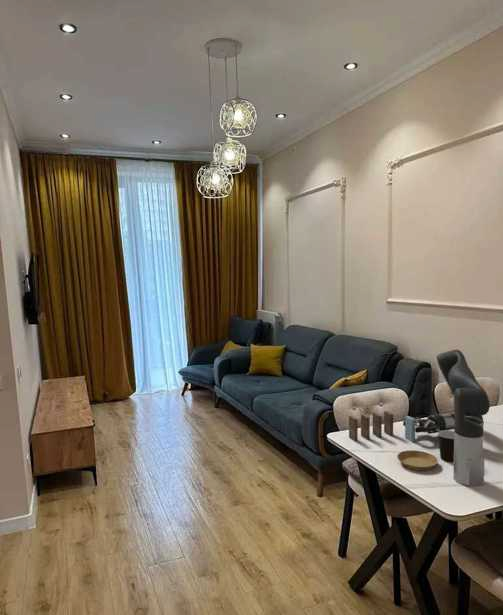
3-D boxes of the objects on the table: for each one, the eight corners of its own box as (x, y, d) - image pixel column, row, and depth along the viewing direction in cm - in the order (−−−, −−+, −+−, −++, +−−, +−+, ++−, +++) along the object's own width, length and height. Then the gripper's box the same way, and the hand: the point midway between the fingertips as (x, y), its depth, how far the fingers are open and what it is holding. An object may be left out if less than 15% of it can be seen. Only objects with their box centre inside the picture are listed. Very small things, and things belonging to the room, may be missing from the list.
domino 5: (408, 437, 200) (408, 415, 199) (414, 441, 195) (415, 419, 194) (405, 438, 200) (405, 416, 199) (411, 442, 195) (412, 419, 194)
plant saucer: (413, 476, 165) (413, 469, 165) (389, 459, 179) (389, 453, 179) (446, 469, 169) (446, 463, 169) (420, 454, 183) (420, 448, 183)
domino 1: (352, 436, 203) (352, 415, 202) (357, 440, 198) (357, 418, 197) (349, 437, 202) (348, 415, 201) (354, 441, 198) (354, 419, 197)
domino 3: (375, 433, 206) (375, 412, 205) (381, 437, 201) (381, 415, 200) (372, 433, 205) (372, 412, 204) (378, 437, 201) (378, 416, 200)
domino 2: (364, 435, 204) (364, 413, 203) (369, 439, 200) (369, 417, 199) (360, 435, 204) (360, 414, 203) (366, 439, 199) (366, 417, 198)
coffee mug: (447, 465, 172) (447, 439, 172) (432, 456, 181) (433, 431, 180) (472, 460, 176) (473, 436, 175) (457, 452, 184) (457, 428, 183)
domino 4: (387, 431, 208) (387, 410, 207) (393, 435, 203) (393, 414, 202) (384, 432, 207) (384, 411, 206) (390, 436, 203) (390, 414, 202)
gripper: (451, 436, 195) (419, 441, 190) (430, 425, 208) (399, 429, 204) (452, 419, 194) (420, 423, 190) (430, 409, 208) (399, 413, 203)
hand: (409, 426), depth 197 cm, fingers open, 8 cm apart
